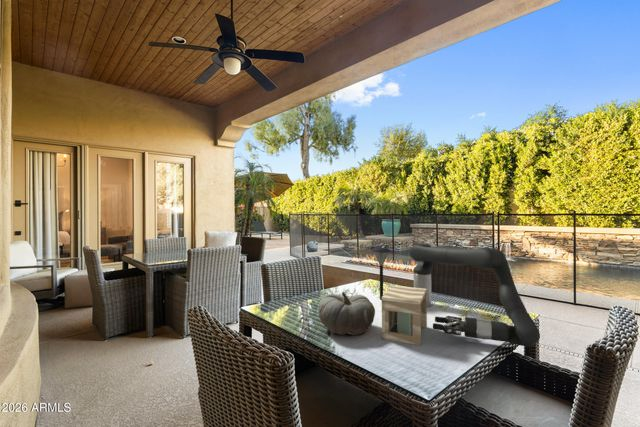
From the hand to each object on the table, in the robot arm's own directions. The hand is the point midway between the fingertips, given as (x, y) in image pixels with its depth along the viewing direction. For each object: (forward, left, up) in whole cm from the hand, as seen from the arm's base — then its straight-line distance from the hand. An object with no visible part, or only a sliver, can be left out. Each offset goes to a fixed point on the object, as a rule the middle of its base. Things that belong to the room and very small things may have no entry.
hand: (434, 322), depth 131 cm
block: (0, -12, -6) cm, 13 cm away
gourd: (+6, -36, -6) cm, 37 cm away
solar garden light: (-44, -33, -6) cm, 55 cm away
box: (0, -11, -6) cm, 13 cm away
